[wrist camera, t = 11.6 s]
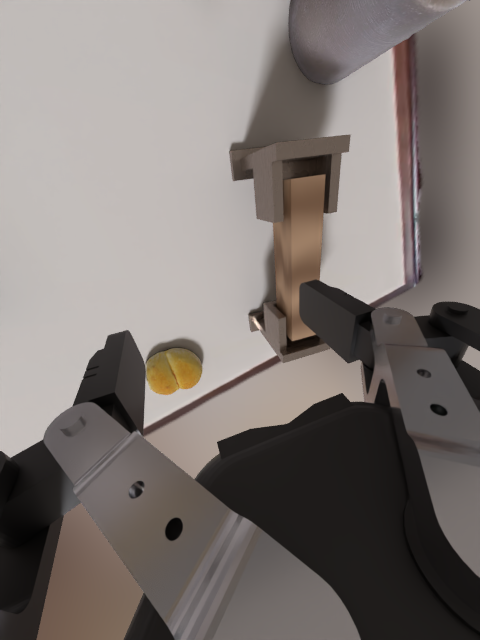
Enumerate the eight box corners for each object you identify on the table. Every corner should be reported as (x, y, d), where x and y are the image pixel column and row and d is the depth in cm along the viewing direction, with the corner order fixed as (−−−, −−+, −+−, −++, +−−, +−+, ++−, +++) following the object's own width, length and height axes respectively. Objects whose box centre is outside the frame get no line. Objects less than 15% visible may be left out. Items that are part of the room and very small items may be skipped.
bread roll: (204, 377, 42) (208, 392, 39) (153, 390, 40) (152, 408, 37) (196, 339, 38) (199, 354, 35) (139, 352, 36) (137, 369, 33)
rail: (271, 181, 25) (291, 179, 21) (300, 177, 25) (325, 174, 22) (277, 324, 34) (292, 341, 30) (299, 318, 34) (316, 334, 31)
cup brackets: (229, 151, 27) (263, 129, 18) (298, 144, 29) (361, 120, 20) (250, 329, 40) (276, 370, 31) (297, 317, 42) (335, 352, 32)
